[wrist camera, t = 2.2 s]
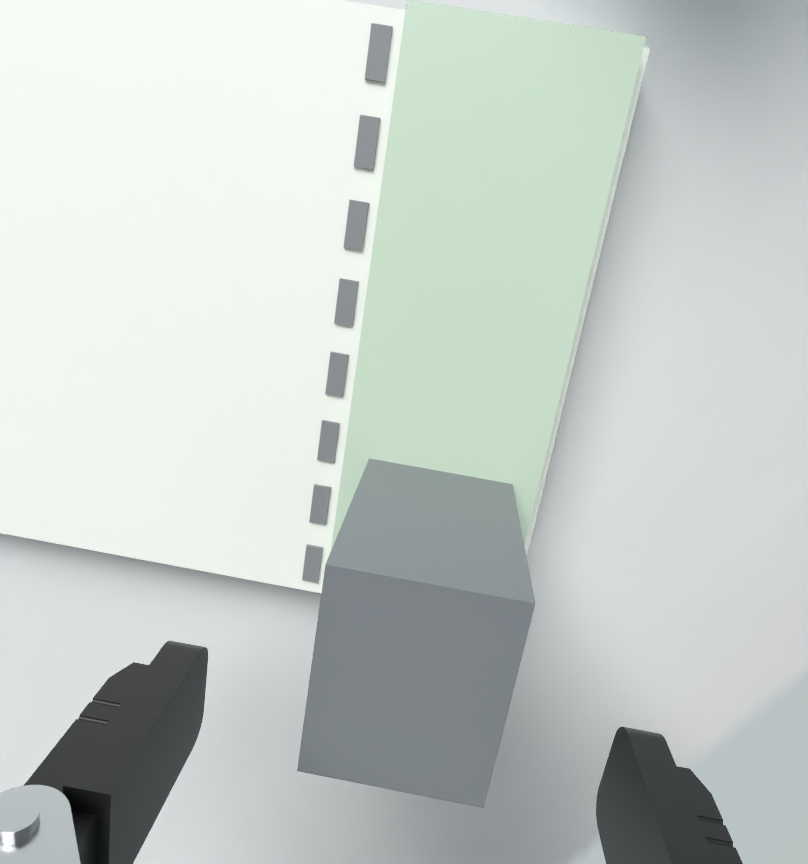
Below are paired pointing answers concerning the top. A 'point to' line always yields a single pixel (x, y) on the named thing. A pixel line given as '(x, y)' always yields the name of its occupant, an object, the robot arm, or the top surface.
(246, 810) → the top surface
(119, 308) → the ticket board
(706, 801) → the robot arm
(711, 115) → the top surface
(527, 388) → the stub
